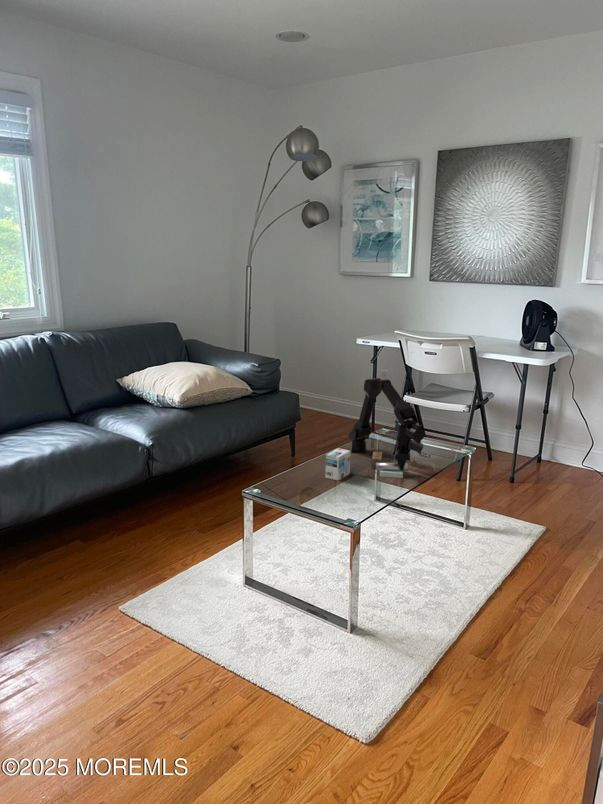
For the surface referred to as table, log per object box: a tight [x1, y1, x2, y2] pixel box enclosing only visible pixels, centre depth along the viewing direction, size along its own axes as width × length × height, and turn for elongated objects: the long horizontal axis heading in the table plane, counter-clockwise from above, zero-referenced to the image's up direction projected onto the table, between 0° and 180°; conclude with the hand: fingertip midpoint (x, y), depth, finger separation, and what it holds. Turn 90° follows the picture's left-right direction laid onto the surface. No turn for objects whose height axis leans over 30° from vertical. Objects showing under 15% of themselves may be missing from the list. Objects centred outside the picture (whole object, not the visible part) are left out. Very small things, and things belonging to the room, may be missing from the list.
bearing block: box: [371, 451, 383, 470], centre depth 279 cm, size 4×10×5 cm, turn 170°
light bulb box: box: [325, 447, 352, 481], centre depth 266 cm, size 11×7×11 cm, turn 146°
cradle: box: [379, 470, 404, 479], centre depth 270 cm, size 10×8×2 cm
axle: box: [375, 462, 409, 472], centre depth 269 cm, size 14×4×4 cm, turn 80°
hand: (402, 468), depth 268 cm, fingers closed on axle, 3 cm apart
